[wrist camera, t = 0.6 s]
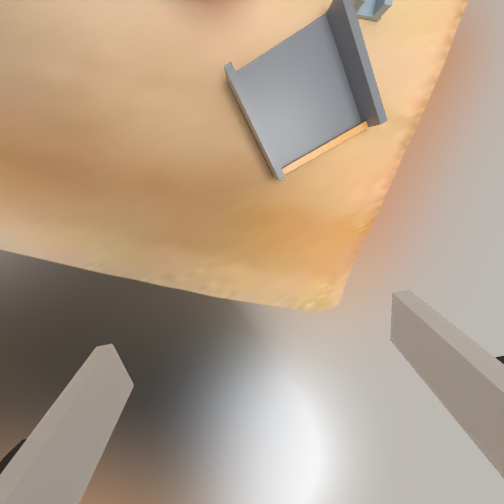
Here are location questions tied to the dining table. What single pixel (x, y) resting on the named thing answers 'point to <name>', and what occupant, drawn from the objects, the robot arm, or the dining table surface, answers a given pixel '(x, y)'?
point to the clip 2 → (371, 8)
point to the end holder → (309, 90)
